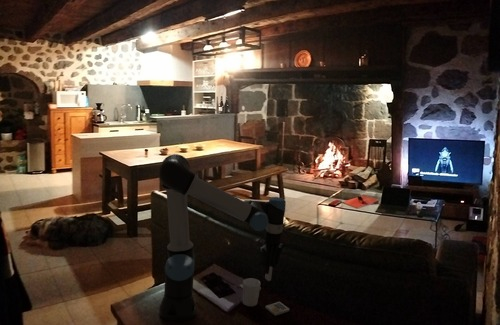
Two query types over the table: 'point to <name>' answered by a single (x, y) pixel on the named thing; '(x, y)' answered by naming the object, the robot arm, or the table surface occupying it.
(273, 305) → the placard
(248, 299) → the white cup
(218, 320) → the table surface
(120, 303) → the table surface
